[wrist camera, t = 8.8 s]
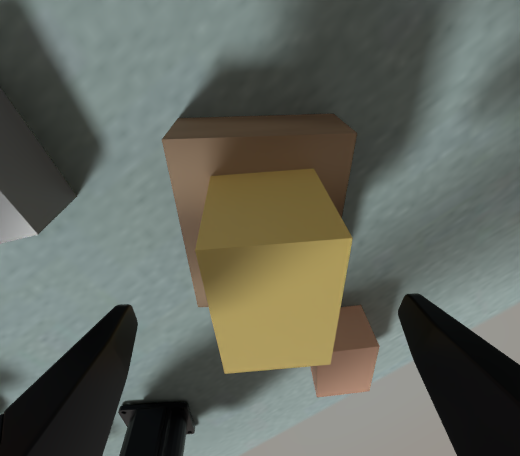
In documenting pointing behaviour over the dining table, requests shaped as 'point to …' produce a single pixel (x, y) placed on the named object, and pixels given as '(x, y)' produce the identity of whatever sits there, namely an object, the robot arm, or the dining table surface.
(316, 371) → the terracotta brick
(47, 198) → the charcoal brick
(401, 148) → the dining table surface
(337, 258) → the mustard brick
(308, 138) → the walnut block
